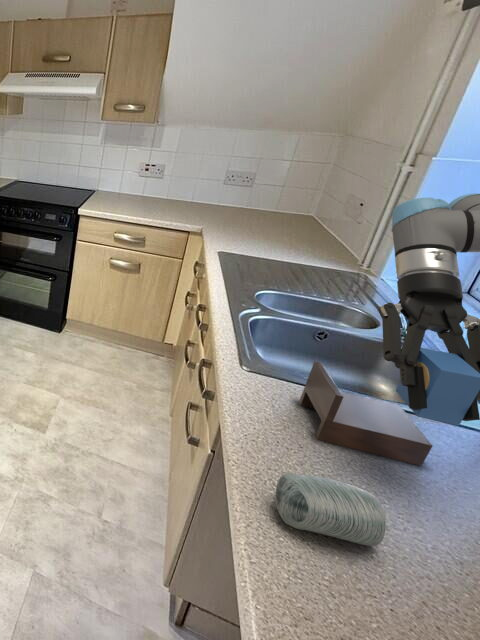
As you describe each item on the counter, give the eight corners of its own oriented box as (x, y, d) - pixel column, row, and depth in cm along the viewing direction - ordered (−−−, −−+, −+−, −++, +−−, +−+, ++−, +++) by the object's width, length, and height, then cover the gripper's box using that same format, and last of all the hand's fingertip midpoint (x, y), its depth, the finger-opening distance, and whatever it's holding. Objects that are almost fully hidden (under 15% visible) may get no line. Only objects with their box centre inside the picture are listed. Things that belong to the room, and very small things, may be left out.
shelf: (389, 423, 87) (410, 380, 83) (421, 466, 77) (447, 419, 73) (298, 402, 93) (314, 361, 89) (317, 439, 83) (335, 395, 79)
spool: (282, 529, 61) (308, 467, 62) (255, 500, 71) (278, 446, 71) (389, 584, 58) (416, 518, 58) (345, 546, 67) (369, 489, 67)
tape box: (434, 398, 70) (457, 354, 67) (460, 426, 64) (487, 378, 61) (394, 390, 72) (415, 346, 69) (416, 416, 66) (440, 369, 63)
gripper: (374, 261, 73) (383, 394, 64) (519, 280, 66) (549, 430, 58) (350, 278, 79) (356, 400, 71) (480, 296, 73) (503, 433, 64)
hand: (443, 413), depth 64 cm, fingers closed on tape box, 5 cm apart
